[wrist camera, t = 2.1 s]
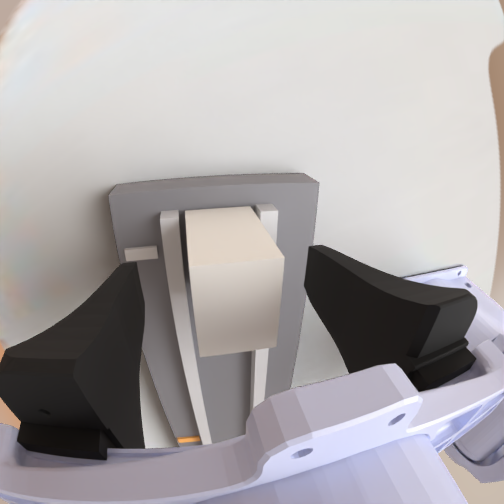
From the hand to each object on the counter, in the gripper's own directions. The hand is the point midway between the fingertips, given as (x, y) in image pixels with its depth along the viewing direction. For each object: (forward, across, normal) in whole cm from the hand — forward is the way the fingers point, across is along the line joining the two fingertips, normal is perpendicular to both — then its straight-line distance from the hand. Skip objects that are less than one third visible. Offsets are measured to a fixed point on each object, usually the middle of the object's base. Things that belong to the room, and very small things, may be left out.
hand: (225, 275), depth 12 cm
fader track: (+5, 0, +12) cm, 13 cm away
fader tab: (+3, 0, 0) cm, 3 cm away
